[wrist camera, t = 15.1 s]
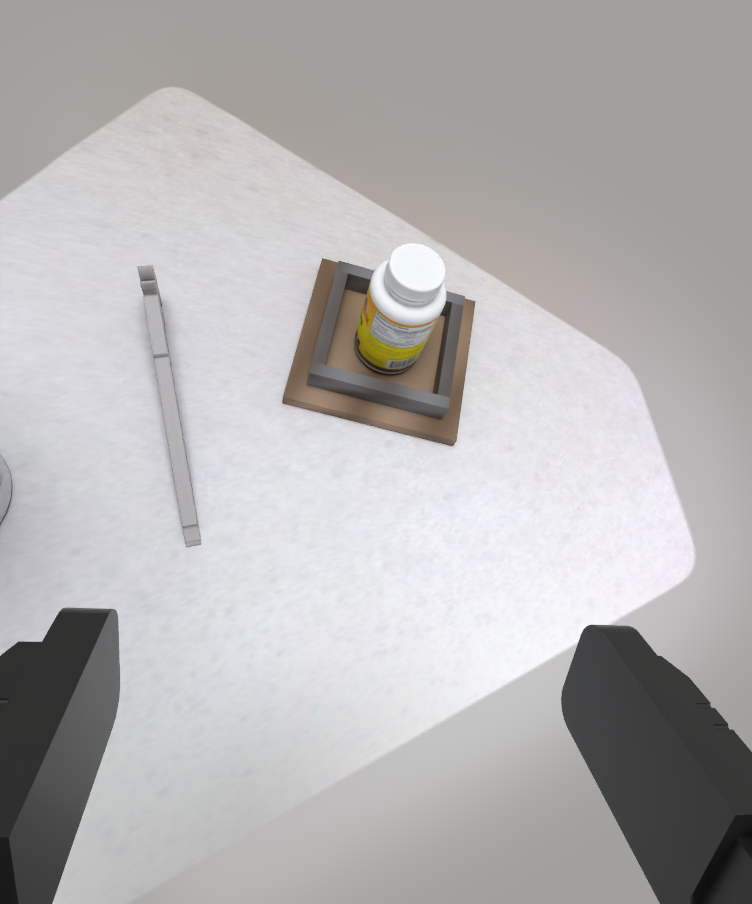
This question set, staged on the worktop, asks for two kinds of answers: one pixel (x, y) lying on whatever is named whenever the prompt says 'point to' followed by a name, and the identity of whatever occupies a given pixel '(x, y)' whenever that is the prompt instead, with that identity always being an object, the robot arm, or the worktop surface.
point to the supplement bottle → (401, 308)
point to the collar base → (371, 392)
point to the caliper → (169, 404)
